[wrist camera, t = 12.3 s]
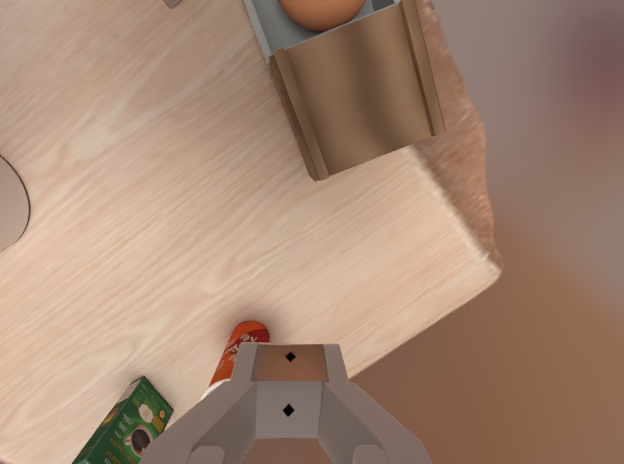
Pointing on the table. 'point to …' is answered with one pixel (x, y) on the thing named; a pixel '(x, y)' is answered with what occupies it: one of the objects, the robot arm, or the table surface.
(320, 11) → the ball
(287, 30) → the pale blue storage tray
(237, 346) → the paper cup
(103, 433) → the coffee box
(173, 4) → the coffee box
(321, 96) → the brown wooden grooved block
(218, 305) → the table surface
